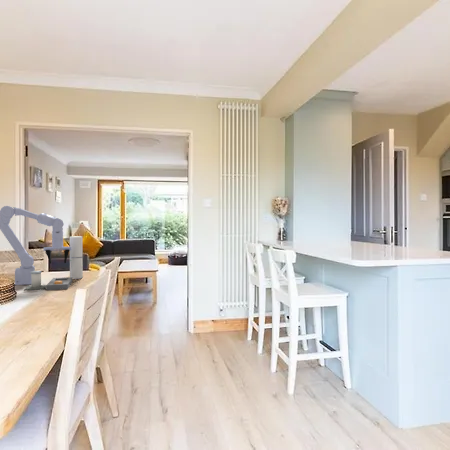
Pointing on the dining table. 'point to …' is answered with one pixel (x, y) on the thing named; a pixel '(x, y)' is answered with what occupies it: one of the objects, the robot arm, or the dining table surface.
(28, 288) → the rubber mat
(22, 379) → the dining table surface
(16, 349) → the dining table surface
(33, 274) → the cylinder
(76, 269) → the cylindrical container
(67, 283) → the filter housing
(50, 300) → the dining table surface
